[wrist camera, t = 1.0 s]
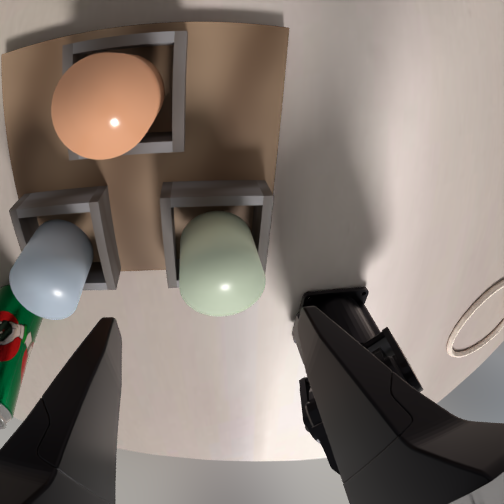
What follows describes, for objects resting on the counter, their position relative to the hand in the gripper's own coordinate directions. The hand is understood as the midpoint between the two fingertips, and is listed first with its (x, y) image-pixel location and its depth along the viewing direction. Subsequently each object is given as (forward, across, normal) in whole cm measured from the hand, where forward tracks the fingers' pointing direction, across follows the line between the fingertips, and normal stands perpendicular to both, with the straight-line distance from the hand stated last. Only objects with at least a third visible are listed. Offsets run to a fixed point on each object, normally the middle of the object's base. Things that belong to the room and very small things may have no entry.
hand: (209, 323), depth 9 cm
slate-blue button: (+10, +9, +3) cm, 14 cm away
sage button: (+10, -1, +4) cm, 10 cm away
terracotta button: (+10, +4, -6) cm, 12 cm away
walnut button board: (+13, +4, -1) cm, 14 cm away
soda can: (+13, +17, +11) cm, 24 cm away
